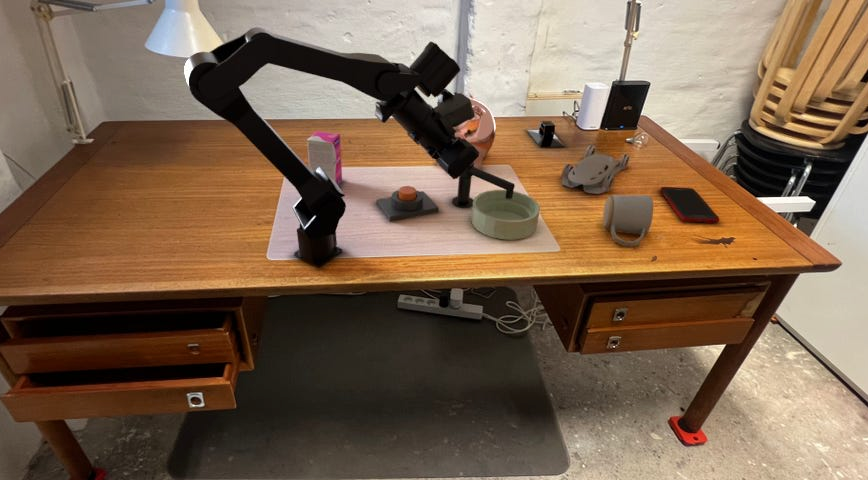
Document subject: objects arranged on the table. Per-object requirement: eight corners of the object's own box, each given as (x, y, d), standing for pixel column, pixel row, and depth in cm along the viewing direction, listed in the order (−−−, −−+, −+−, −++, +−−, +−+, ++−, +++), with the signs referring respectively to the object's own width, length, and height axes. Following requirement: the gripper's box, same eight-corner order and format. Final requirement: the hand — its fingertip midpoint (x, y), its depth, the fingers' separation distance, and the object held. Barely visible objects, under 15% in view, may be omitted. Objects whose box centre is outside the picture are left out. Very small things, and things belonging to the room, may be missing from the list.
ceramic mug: (599, 218, 107) (608, 185, 102) (639, 222, 106) (650, 189, 101) (605, 246, 98) (615, 211, 94) (649, 251, 97) (662, 216, 93)
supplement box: (335, 191, 113) (331, 142, 107) (310, 188, 114) (305, 140, 108) (343, 180, 118) (340, 133, 111) (319, 177, 119) (314, 130, 112)
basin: (519, 249, 96) (522, 229, 94) (459, 227, 102) (461, 208, 100) (546, 221, 105) (550, 201, 103) (489, 202, 111) (492, 184, 109)
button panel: (389, 221, 103) (389, 209, 102) (376, 204, 109) (376, 191, 108) (438, 212, 107) (439, 199, 105) (422, 195, 113) (423, 183, 111)
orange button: (402, 202, 105) (402, 195, 104) (396, 195, 107) (396, 187, 106) (418, 199, 106) (418, 192, 105) (411, 192, 109) (411, 184, 108)
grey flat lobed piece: (629, 166, 129) (635, 147, 126) (599, 202, 113) (604, 182, 110) (587, 155, 134) (591, 137, 131) (552, 188, 118) (556, 168, 115)
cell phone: (682, 222, 106) (683, 218, 106) (658, 190, 118) (659, 186, 118) (719, 224, 106) (721, 220, 105) (691, 191, 118) (693, 187, 117)
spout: (454, 177, 107) (455, 162, 105) (464, 173, 109) (465, 158, 107) (506, 201, 99) (509, 185, 97) (516, 196, 101) (519, 180, 99)
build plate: (526, 131, 147) (529, 115, 145) (550, 131, 148) (553, 115, 145) (540, 147, 137) (543, 131, 134) (566, 147, 138) (569, 130, 135)
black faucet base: (466, 210, 108) (469, 182, 104) (447, 204, 110) (449, 176, 106) (477, 202, 111) (480, 174, 108) (458, 195, 113) (461, 168, 110)
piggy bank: (423, 172, 123) (426, 106, 113) (438, 144, 137) (441, 84, 128) (486, 180, 120) (494, 114, 111) (495, 151, 134) (503, 90, 125)
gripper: (476, 98, 78) (523, 157, 89) (426, 65, 92) (472, 120, 102) (426, 151, 80) (477, 203, 91) (384, 111, 94) (433, 160, 104)
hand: (465, 169), depth 97 cm, fingers closed
